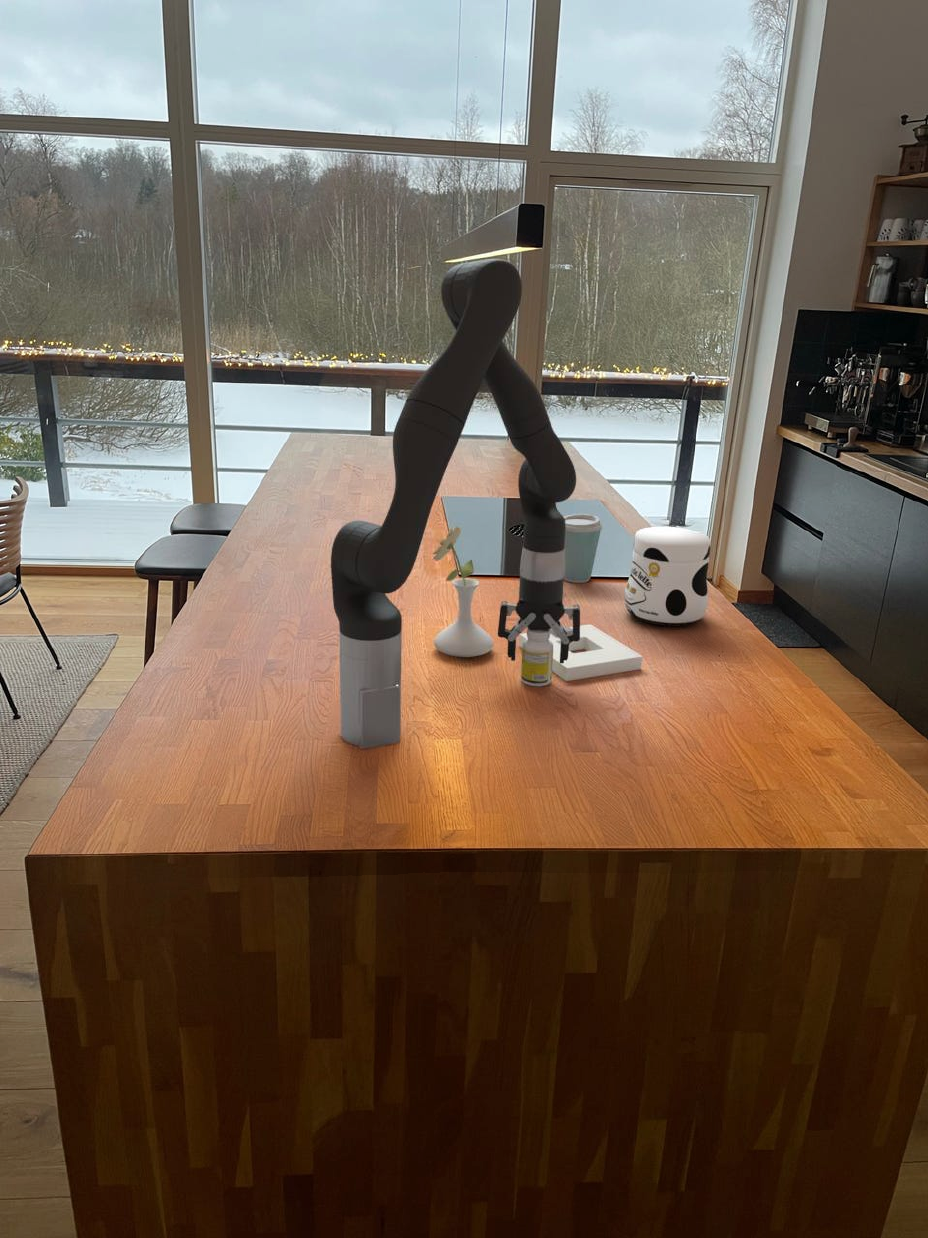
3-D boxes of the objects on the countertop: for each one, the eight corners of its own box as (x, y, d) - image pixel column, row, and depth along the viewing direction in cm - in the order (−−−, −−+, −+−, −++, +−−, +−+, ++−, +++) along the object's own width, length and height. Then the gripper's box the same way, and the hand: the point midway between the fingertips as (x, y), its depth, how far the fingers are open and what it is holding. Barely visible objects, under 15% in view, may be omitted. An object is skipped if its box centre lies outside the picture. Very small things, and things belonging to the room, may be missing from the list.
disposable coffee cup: (576, 588, 219) (581, 525, 213) (543, 577, 226) (547, 515, 221) (607, 580, 225) (612, 519, 220) (573, 569, 233) (578, 510, 228)
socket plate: (641, 669, 175) (642, 652, 173) (565, 681, 168) (567, 664, 167) (589, 635, 190) (590, 620, 189) (518, 646, 183) (519, 630, 182)
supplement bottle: (532, 672, 171) (535, 621, 168) (557, 680, 168) (560, 629, 165) (514, 681, 168) (517, 629, 164) (539, 690, 164) (543, 637, 161)
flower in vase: (463, 636, 188) (468, 512, 179) (505, 652, 180) (512, 524, 172) (414, 652, 179) (416, 523, 170) (456, 670, 171) (460, 536, 163)
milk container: (606, 616, 201) (614, 534, 195) (651, 599, 213) (659, 521, 207) (678, 638, 190) (688, 552, 184) (720, 618, 202) (731, 537, 196)
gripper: (583, 568, 164) (577, 654, 170) (501, 564, 165) (498, 650, 171) (584, 581, 157) (578, 671, 163) (499, 577, 158) (495, 666, 164)
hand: (537, 660), depth 167 cm, fingers open, 8 cm apart
